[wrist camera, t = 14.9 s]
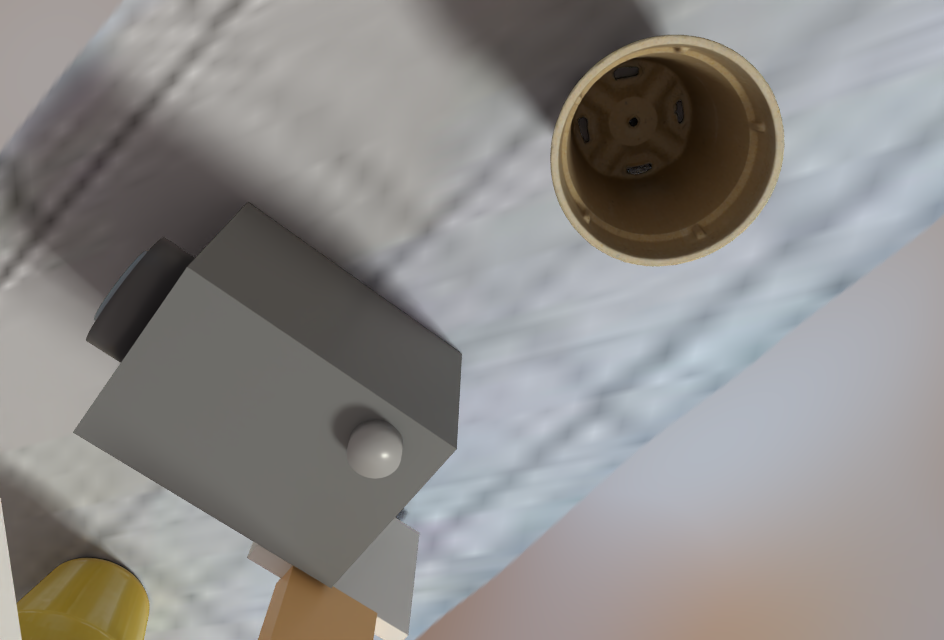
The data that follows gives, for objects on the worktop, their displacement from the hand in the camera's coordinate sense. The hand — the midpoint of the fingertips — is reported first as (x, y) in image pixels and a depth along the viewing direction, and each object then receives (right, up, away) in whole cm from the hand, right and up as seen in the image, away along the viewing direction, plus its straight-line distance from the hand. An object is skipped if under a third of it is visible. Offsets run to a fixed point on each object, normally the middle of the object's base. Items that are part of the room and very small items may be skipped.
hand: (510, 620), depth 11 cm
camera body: (-11, +3, +37) cm, 38 cm away
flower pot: (+7, +14, +32) cm, 36 cm away
